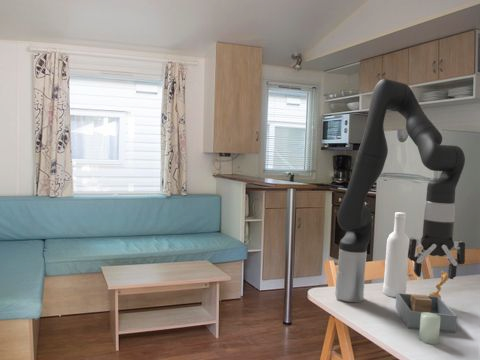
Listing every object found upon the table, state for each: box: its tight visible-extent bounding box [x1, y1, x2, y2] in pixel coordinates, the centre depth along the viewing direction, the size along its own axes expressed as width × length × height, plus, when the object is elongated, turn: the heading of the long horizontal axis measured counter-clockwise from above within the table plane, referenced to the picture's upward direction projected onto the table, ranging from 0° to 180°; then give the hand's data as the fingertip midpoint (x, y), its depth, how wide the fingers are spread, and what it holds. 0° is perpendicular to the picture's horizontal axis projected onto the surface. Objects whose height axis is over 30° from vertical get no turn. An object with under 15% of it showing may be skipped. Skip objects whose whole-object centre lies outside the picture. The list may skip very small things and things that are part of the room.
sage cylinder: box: [418, 312, 441, 345], centre depth 122 cm, size 5×5×7 cm
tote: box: [395, 293, 458, 334], centre depth 138 cm, size 13×17×5 cm
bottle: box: [382, 211, 410, 299], centre depth 160 cm, size 8×8×30 cm
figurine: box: [428, 270, 450, 300], centre depth 152 cm, size 8×6×12 cm
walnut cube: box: [410, 293, 432, 313], centre depth 142 cm, size 5×5×5 cm
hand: (434, 277), depth 121 cm, fingers open, 8 cm apart
